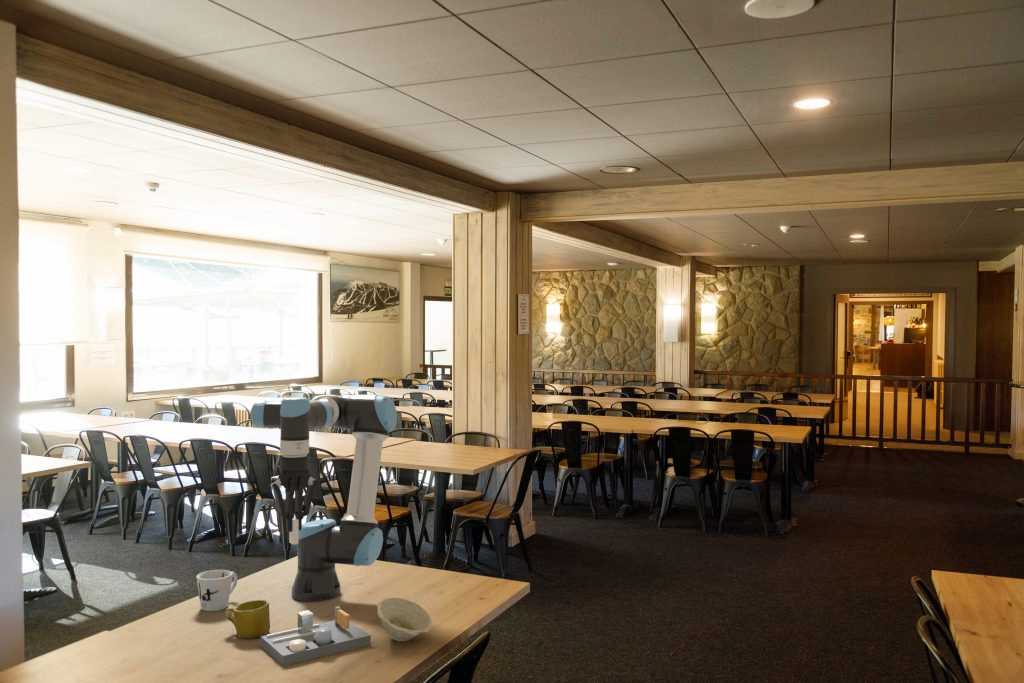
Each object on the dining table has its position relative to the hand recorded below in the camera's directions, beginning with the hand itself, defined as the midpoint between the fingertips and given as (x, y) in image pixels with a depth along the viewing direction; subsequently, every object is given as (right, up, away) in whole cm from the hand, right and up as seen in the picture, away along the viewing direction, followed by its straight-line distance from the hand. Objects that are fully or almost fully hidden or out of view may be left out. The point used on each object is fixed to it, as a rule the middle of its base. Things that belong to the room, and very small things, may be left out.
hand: (293, 543), depth 212 cm
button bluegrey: (+10, -24, -6) cm, 27 cm away
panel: (+7, -27, -2) cm, 27 cm away
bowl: (+29, -27, +2) cm, 40 cm away
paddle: (+12, -24, +3) cm, 27 cm away
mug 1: (-30, -26, +29) cm, 49 cm away
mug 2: (-14, -27, +6) cm, 31 cm away
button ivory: (+4, -26, -11) cm, 28 cm away
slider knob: (+3, -24, 0) cm, 24 cm away
